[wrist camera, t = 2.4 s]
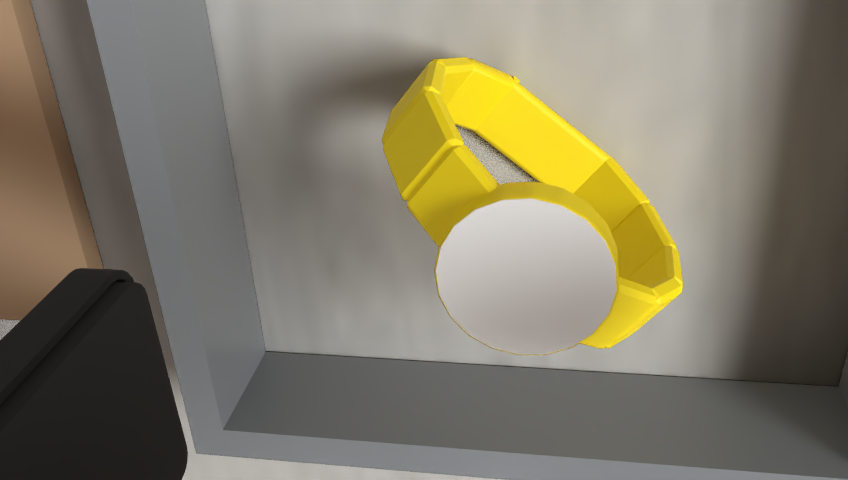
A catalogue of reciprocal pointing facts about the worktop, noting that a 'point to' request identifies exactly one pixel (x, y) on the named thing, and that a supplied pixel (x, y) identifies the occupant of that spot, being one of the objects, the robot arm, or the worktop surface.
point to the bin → (385, 378)
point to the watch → (526, 217)
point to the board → (35, 174)
